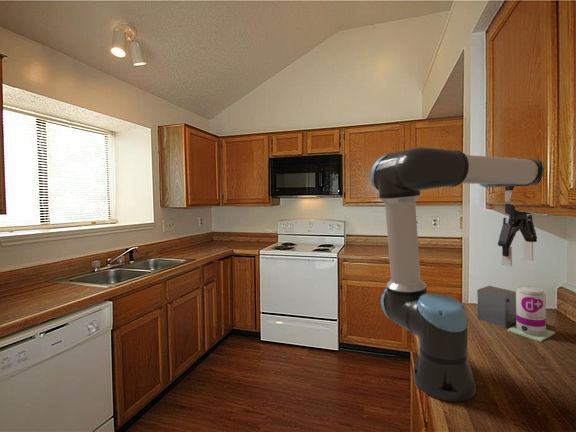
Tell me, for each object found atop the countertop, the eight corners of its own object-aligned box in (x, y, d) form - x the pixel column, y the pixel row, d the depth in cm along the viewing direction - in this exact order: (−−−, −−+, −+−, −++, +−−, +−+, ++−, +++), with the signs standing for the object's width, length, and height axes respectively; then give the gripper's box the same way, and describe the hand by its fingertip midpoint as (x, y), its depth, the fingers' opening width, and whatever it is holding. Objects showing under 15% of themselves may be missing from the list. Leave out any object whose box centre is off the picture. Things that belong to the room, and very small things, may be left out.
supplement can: (546, 337, 103) (546, 294, 102) (516, 332, 108) (515, 290, 107) (545, 328, 110) (545, 287, 109) (516, 323, 115) (516, 284, 114)
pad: (540, 341, 102) (540, 339, 102) (507, 330, 111) (507, 328, 111) (554, 333, 107) (554, 331, 107) (522, 323, 116) (522, 321, 116)
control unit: (506, 328, 113) (506, 296, 112) (477, 319, 122) (477, 289, 121) (518, 322, 117) (518, 292, 116) (489, 314, 126) (489, 285, 125)
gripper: (509, 204, 98) (509, 270, 100) (549, 200, 110) (548, 259, 111) (485, 204, 105) (486, 265, 107) (525, 200, 116) (524, 255, 118)
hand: (517, 262), depth 109 cm, fingers open, 13 cm apart
